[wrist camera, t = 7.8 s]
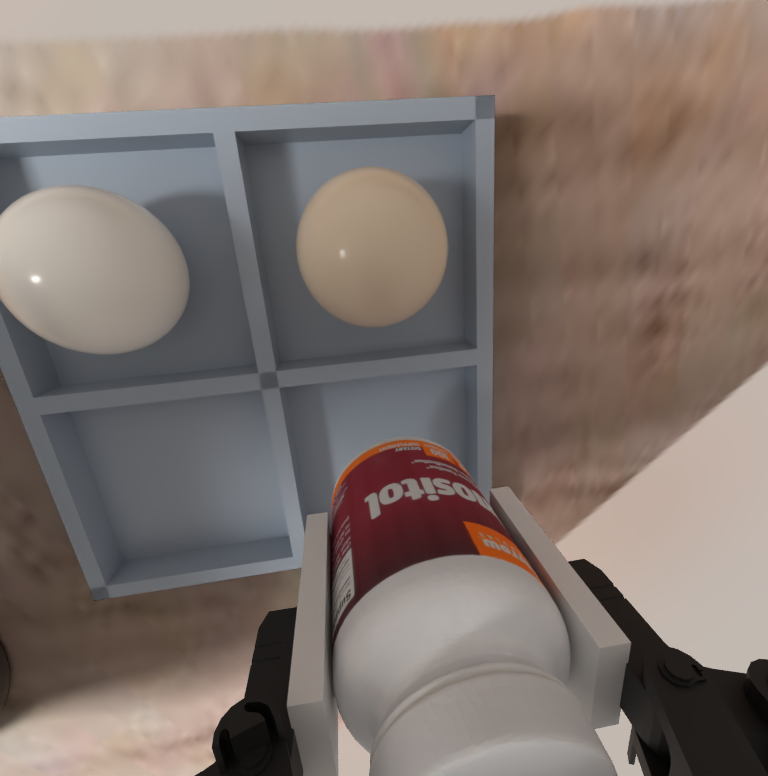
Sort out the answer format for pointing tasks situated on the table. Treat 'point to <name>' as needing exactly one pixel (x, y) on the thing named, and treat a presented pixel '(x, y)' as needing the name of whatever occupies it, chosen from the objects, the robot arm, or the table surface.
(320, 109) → the divided tray
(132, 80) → the table surface
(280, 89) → the table surface
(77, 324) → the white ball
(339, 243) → the egg brown
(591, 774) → the pill bottle
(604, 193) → the table surface
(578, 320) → the table surface
